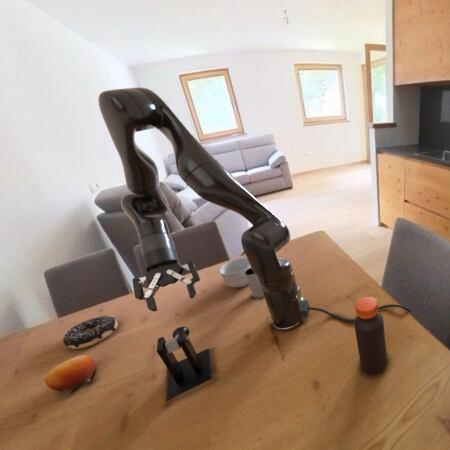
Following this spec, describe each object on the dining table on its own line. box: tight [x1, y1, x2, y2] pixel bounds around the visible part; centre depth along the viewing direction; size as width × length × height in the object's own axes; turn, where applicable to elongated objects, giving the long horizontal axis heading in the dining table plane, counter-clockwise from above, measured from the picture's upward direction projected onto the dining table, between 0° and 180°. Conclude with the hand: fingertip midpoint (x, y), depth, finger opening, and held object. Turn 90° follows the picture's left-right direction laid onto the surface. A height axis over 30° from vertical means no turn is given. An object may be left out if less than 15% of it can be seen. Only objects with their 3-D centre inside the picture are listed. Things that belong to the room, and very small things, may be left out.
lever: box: [165, 325, 191, 353], centre depth 70 cm, size 13×4×4 cm, turn 34°
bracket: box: [156, 329, 213, 402], centre depth 68 cm, size 11×9×13 cm
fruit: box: [43, 354, 95, 394], centre depth 69 cm, size 8×8×8 cm
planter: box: [245, 268, 264, 300], centre depth 95 cm, size 4×4×10 cm
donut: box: [62, 315, 119, 350], centre depth 83 cm, size 11×12×4 cm
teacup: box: [219, 254, 251, 288], centre depth 104 cm, size 14×11×8 cm
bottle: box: [353, 296, 388, 376], centre depth 66 cm, size 7×7×20 cm
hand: (174, 304), depth 77 cm, fingers open, 8 cm apart
